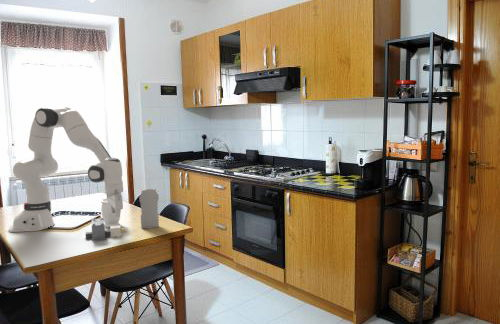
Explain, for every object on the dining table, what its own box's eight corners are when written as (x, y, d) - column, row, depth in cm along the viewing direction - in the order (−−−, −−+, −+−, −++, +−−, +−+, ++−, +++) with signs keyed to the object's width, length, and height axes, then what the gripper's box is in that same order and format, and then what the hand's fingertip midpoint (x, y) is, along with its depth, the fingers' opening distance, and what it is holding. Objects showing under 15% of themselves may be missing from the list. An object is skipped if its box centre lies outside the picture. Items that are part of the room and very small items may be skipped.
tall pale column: (141, 229, 215) (139, 190, 213) (139, 227, 219) (138, 189, 216) (160, 227, 220) (159, 188, 217) (158, 225, 223) (157, 187, 221)
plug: (85, 239, 198) (85, 231, 198) (86, 237, 202) (85, 228, 202) (124, 235, 205) (124, 227, 204) (124, 233, 209) (124, 225, 208)
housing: (92, 241, 195) (91, 224, 194) (92, 234, 207) (91, 218, 206) (105, 239, 197) (104, 223, 196) (104, 232, 209) (104, 217, 208)
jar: (101, 224, 226) (100, 198, 224) (120, 222, 230) (119, 197, 228) (102, 228, 216) (101, 202, 215) (122, 226, 220) (121, 200, 219)
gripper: (125, 191, 195) (126, 218, 197) (116, 185, 212) (117, 210, 214) (112, 192, 192) (113, 220, 193) (104, 186, 209) (105, 211, 211)
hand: (115, 214), depth 204 cm, fingers open, 8 cm apart
